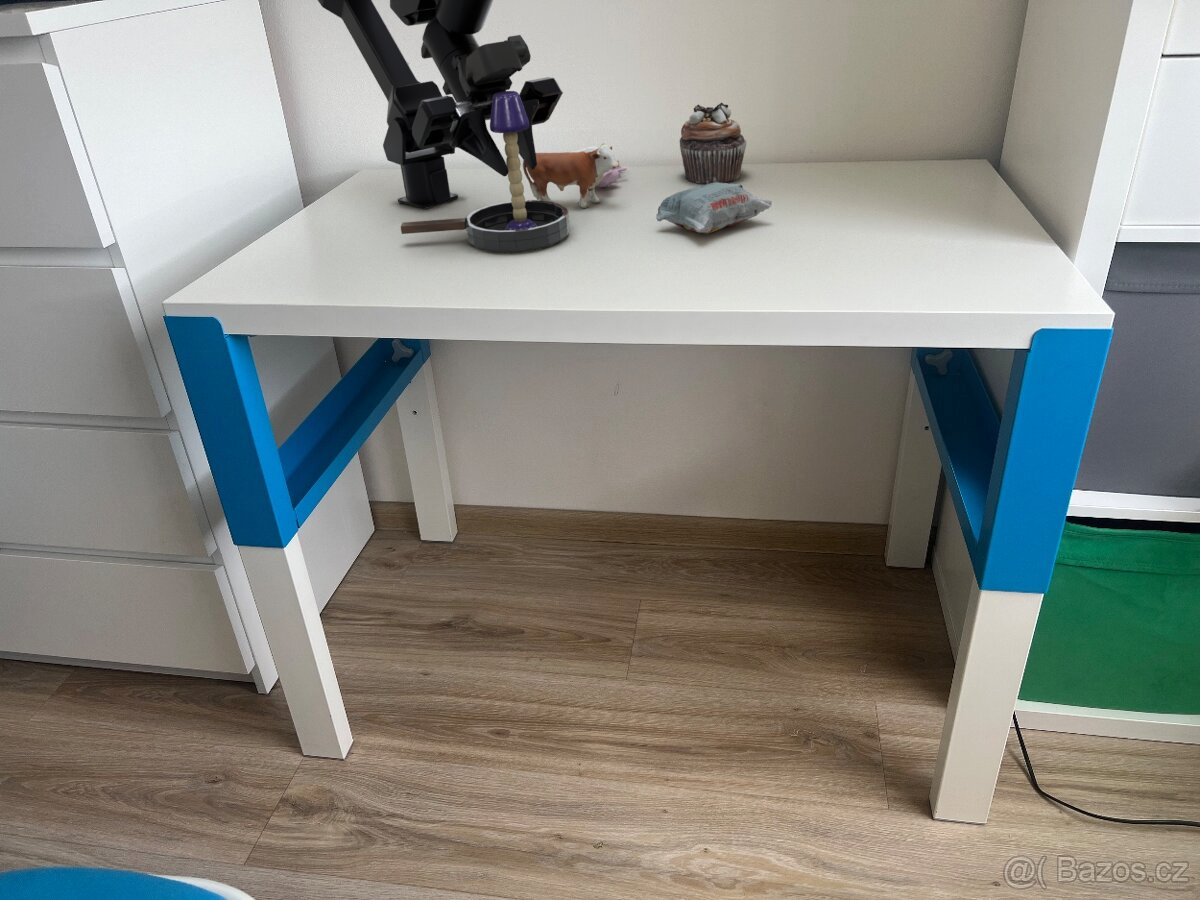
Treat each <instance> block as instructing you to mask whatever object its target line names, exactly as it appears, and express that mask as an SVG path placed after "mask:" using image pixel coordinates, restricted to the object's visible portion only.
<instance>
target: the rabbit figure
mask: <svg viewBox="0 0 1200 900" xmlns="http://www.w3.org/2000/svg"><path fill="white" fill-rule="evenodd" d="M602 145H606V143H604V142H603V143H601V145H600V146H599V148H600V147H601V146H602ZM616 162H618V163H619V167H618V168H617V169H615V170H610V171H609V172H607V173H604V176H603V178H602V180H601V181H600V182H599V183H598V185H597V186H598V187H600V188H601V189H602V188H606V187H607V186H608V185H609V184H612V183H615V182H616V181H617V180H618V179H619V177H620V173H621V172H626V171H627V167H625V166H622V167H621V164H620V159H617V160H616Z"/></svg>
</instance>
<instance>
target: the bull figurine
mask: <svg viewBox="0 0 1200 900" xmlns="http://www.w3.org/2000/svg"><path fill="white" fill-rule="evenodd" d="M601 145H602V144H601ZM601 145H600V146H601ZM600 146H599V147H598V146H593V145H591V146H588V147H586V148H583V149H578V150H574V151H566V152H536V159H537V166H536V168H535V169H531V168H530V167H529V166H528V165H527V164H526V163H525V161H524V160H523V159H522V160H523V161H522V170H523V173H524V176H525V177H526V179H527V180H528V183H529V187H530V191H531V193H532V195H533V197H535V200H537V201H548V202H553V200H552V199H551V198H550V197H549V194H548V185H549V183H552V184H554V185H556V187H557V188H558V189H559V191H560V192H563V191H564V190H565V187H567V186H574V185H575V186H579V195H580V197H579V201H578V203H577V204H578V206H580V207H581V208H582V209H587V208H589V205H588V203H587V202H586V196H587V194H588V192H589V195H590V202H593V204H599V203H601V199H599V198H598V196H597V194H596V192H595V189H596V188H595V187H596V186H598V183H599V182H600V181H601V180H602V178H603V176H604V173H607V172H609V171H610V170H615V169H617V168H618V167H619V164H620V162H619V163H618V162H616V161H617V160H616V156H615V153H614V151H613V146H612V145H610V146H609V145H608V144H605V145H602V146H601V147H600ZM531 179H532V180H533V181H532V180H531Z"/></svg>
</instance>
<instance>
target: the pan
mask: <svg viewBox="0 0 1200 900" xmlns="http://www.w3.org/2000/svg"><path fill="white" fill-rule="evenodd" d="M513 209H514V208H513V206H512V203H511V200H510V201H503V202H498V203H493V204H490V205H486V206H483V207H480V208H477V209H475V210H473V211H471V212H469V213H468V214H467V216H466V217H464V218H465V224H466V229H465V231H466V238H467V242H468V243H469V244H471V245H473V247H475V248H477V249H478V250H481V251H483V252H489V253H496V254H520V253H528V252H534V251H539V250H543V249H547V248H549V247H552V246H555V245H556V244H558V243H560V242H561V241H563V240H564V239H565V237H567V236H568V235H569V232H570V230H571V228H570V215H569V211H568V209H567V207H566V206H564V205H562V204H560V203H557V202H553V201H552V202H548V201H540V200H537V199H528V200H527V199H525V209H526V211H527V217H526V218H527V219H530V220H532V221H533V222H534V223H535V224H536V226H537V227H534V228H529V229H521V230H505V229H506V226H507V224H508V223H509V222H510V221H512V220H514V216H513Z"/></svg>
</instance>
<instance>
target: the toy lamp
mask: <svg viewBox="0 0 1200 900" xmlns="http://www.w3.org/2000/svg"><path fill="white" fill-rule="evenodd" d="M519 94H520V93H519V92H518V91H516V90H515V91H514V90H506V91H503V92H498V93H495V94H494V96H493V100H492V109H491V119H490V120H489V130H490V132H492V133H494V134H497V133H498V134H502V139H503V142H504V154H505V156H506V160H505V163H506V165H507V167H508V170H509V172H508V174H507V180H508V181H509V187H508V189H509V193H510V195H511V198H510V199H511V200H510V201H511V203H512V206H513V208H514V209H513V216H514V220H512V221H510V222H509V223H508V224H507V226H506V229H505V230H521V229H529V228H534V227H537V226H536V224H535V223H534V222H533V221H532V220H530V219H527V218H526V217H527V211H526V209H525V200H526V198H525V195H524V192H525V188H524V184H523V182H522V181H523V173H522V170H521V164H522V163H521V159H520V154H519V146H518V144H517V140H518V135H517V132H519V131H523V130H526V129H528V128H529V121H528V118H527V115H526V112H525V109H524V106H523V104H522V101H521V98H520V96H519Z"/></svg>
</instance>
